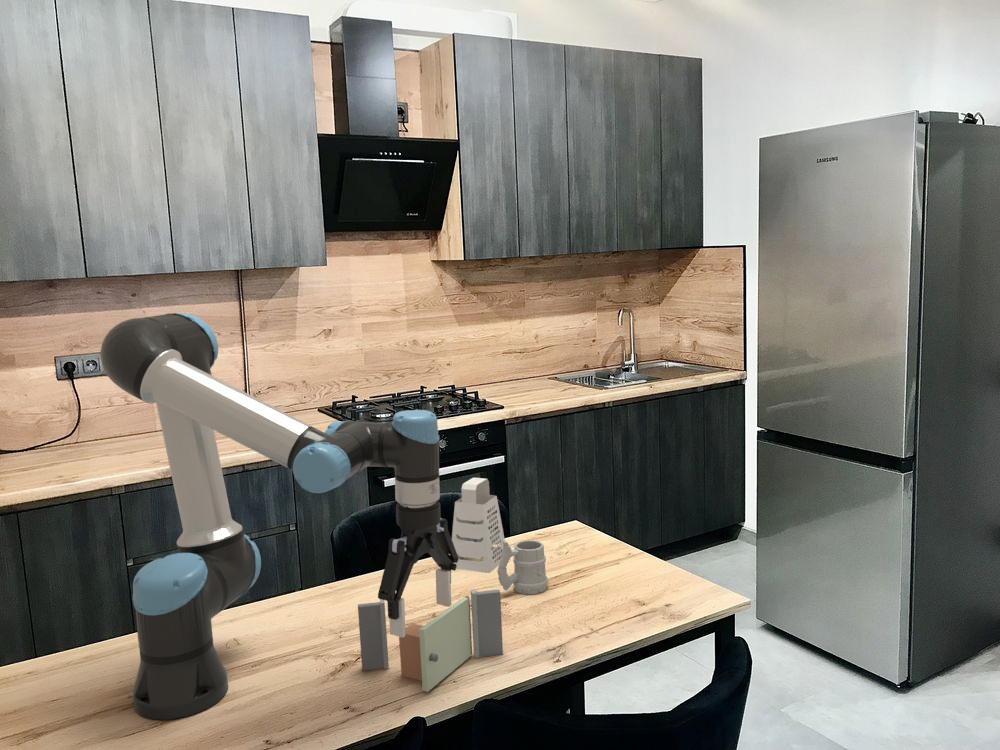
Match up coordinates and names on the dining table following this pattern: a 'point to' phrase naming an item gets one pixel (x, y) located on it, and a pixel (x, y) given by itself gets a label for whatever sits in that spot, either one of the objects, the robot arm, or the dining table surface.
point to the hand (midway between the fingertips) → (421, 619)
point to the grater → (477, 527)
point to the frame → (483, 624)
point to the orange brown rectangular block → (411, 652)
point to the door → (445, 643)
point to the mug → (524, 567)
